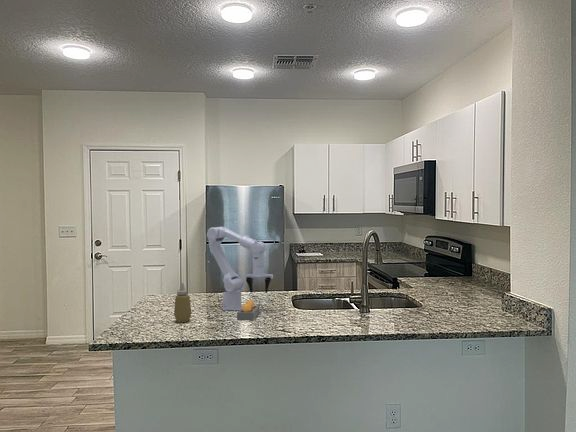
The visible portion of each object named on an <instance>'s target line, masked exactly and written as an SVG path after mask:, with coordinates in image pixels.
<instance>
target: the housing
mask: <svg viewBox="0 0 576 432" xmlns="http://www.w3.org/2000/svg"><path fill="white" fill-rule="evenodd" d="M245 304H251V312H243V307H242V308H241V309H240V310H237V312H236V320H237V321H255V319H256V318H257V317H258V316H259V314H260V313H261V311H260V307H261V306H260V305H255V300H246V301H245Z"/></svg>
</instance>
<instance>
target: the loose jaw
mask: <svg viewBox="0 0 576 432" xmlns="http://www.w3.org/2000/svg"><path fill="white" fill-rule="evenodd" d="M241 306H243V312H251V304H246V303H243V304H241Z"/></svg>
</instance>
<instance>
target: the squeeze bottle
mask: <svg viewBox="0 0 576 432" xmlns="http://www.w3.org/2000/svg"><path fill="white" fill-rule="evenodd" d="M176 292H177V294H176V296H174V297H175V298H174V299H175V300H174V311H173V315H174V317H175V321H176V322H177V323H186V322H187V323H188V322H189V321H190V320H191V316H192V306H191V298H190V297H191V296H190V294H188V290H187V289H186V288H185V284H184V282H180V285H179V290H177V291H176Z"/></svg>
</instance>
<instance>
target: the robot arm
mask: <svg viewBox="0 0 576 432" xmlns="http://www.w3.org/2000/svg"><path fill="white" fill-rule="evenodd" d="M206 237H207V240H208V248H209V249H210V251H211V253H212V255H213V258H214V259H215V262H216V263H217V265H218V267H219V269H220V271H221V273H222V275H223V279H222V282H223V284H224V285H223V286H224V289H225V291H223V293H222V309H221V310H222V311H239V310H240V309H241V308H242V307H243V306H242V288H243V287H244V281H243V278H244V279H246V280H245V281H246V283H247V286H248V287H249V292H250V293H251V294H253V290H254V288H253V287H254V286H253V283H254V281H253V280H254V279H264V283H265V284H264V286H265V294H267V293H268V291H269V285H270V282H271V281H272V280H273V279H274V274H273V273H270V274H269V273H265V251H266V249H267V248H266V247H267V246H266V244H265V243H264V242H263V241H258V240H257V239H254V238H251V237H250V236H249V235H243V236H242V235H240V234H238V233H236V232H235V231H233V230H231V229H229V228H228V227H225V226H224V225H223V226H222V225H221V226H216V227H213V226H212V227H210V228H209V229H208V230H207V233H206ZM225 238H228V239H230V240H232V241H235V242H237V243H239V246H241V247H243V248H244V249H247V250H249V251H250V252H251V254H252V255H251V256H252V273H245V274H243V278H241V277H240V276H239V275H238V273H236V272H234V269H233V268H232V266H231V264H230V262H229V260H228V257H227V256H226V254H225V252H224V250H223V248H222V246H221V244H222V242H223V241H224V239H225Z"/></svg>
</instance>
